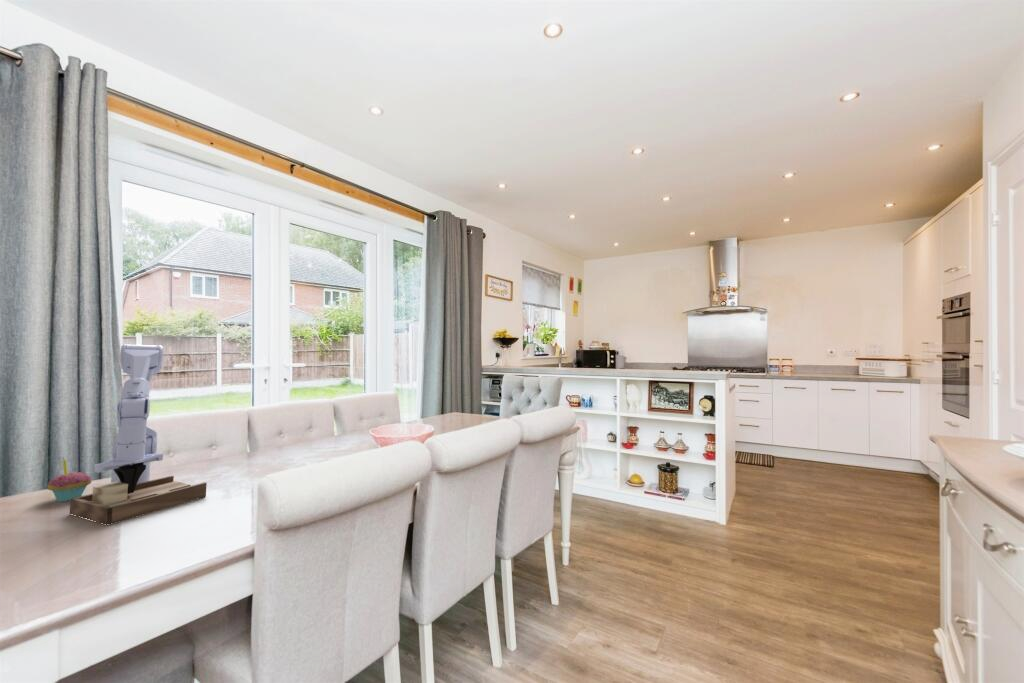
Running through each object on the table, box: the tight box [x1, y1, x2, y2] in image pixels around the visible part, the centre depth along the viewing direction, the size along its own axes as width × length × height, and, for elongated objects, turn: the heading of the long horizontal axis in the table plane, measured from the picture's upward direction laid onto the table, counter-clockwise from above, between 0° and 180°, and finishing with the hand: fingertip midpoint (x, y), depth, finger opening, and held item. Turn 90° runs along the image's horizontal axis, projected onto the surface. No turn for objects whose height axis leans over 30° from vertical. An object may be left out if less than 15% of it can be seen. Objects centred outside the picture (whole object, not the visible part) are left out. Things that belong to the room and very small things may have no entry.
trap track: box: [69, 475, 208, 526], centre depth 114 cm, size 16×23×4 cm
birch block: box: [92, 482, 128, 505], centre depth 110 cm, size 5×5×4 cm
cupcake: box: [47, 457, 93, 502], centre depth 117 cm, size 9×8×12 cm
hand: (128, 492), depth 114 cm, fingers closed
